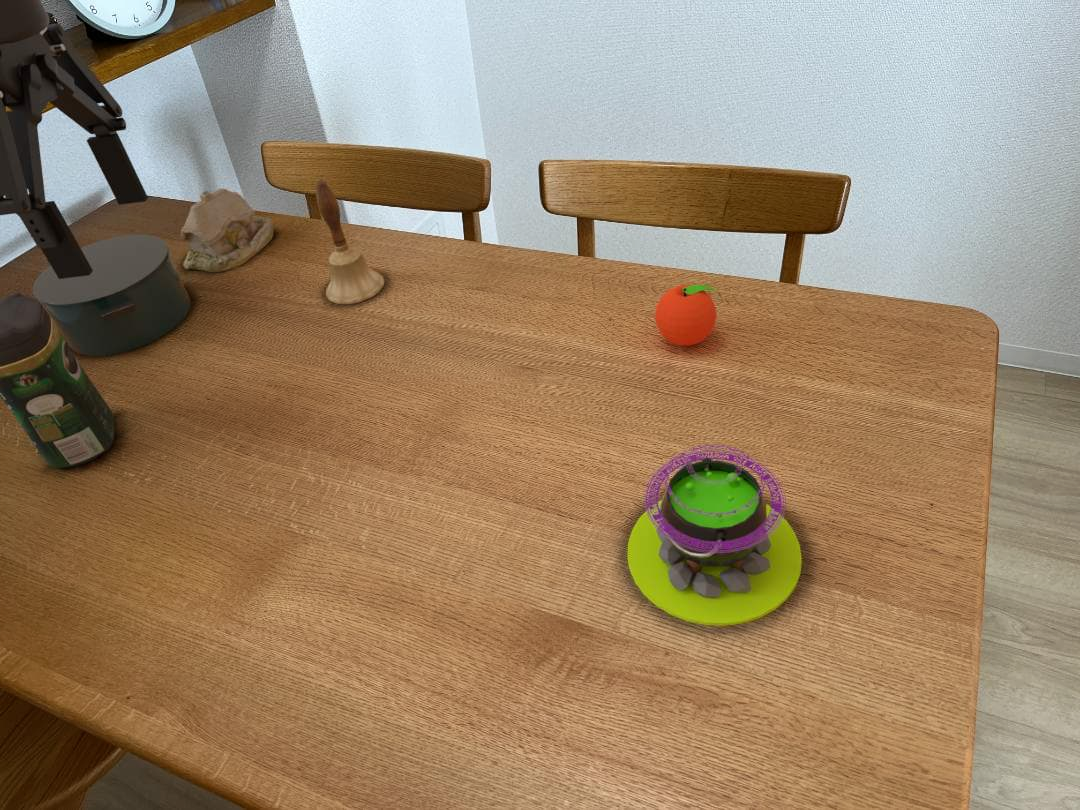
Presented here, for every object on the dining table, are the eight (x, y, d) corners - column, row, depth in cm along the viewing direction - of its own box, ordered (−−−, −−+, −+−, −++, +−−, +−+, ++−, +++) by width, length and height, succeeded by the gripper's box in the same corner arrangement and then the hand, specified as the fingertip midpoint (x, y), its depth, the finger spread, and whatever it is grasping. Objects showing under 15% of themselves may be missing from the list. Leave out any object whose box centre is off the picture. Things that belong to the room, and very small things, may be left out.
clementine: (707, 314, 98) (707, 263, 93) (735, 344, 93) (737, 292, 88) (646, 332, 97) (643, 282, 92) (671, 364, 92) (670, 312, 87)
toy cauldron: (623, 495, 78) (615, 409, 70) (783, 484, 76) (791, 395, 69) (631, 630, 66) (623, 544, 59) (819, 621, 65) (835, 532, 57)
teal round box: (73, 380, 105) (38, 326, 99) (59, 311, 119) (28, 260, 113) (206, 328, 110) (180, 274, 105) (178, 268, 125) (154, 218, 119)
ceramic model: (218, 280, 120) (191, 219, 114) (172, 265, 125) (143, 207, 119) (287, 235, 128) (265, 176, 122) (241, 223, 134) (218, 166, 127)
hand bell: (314, 296, 113) (275, 191, 103) (355, 267, 118) (322, 164, 107) (355, 310, 109) (319, 202, 98) (396, 279, 113) (366, 173, 103)
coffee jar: (49, 430, 97) (-42, 301, 85) (117, 407, 99) (37, 278, 87) (45, 481, 90) (-55, 348, 78) (118, 455, 92) (31, 322, 80)
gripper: (-73, 24, 50) (91, 307, 64) (88, -61, 69) (188, 171, 83) (-186, 40, 51) (1, 317, 64) (5, -49, 70) (118, 180, 83)
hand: (107, 236), depth 74 cm, fingers open, 13 cm apart
